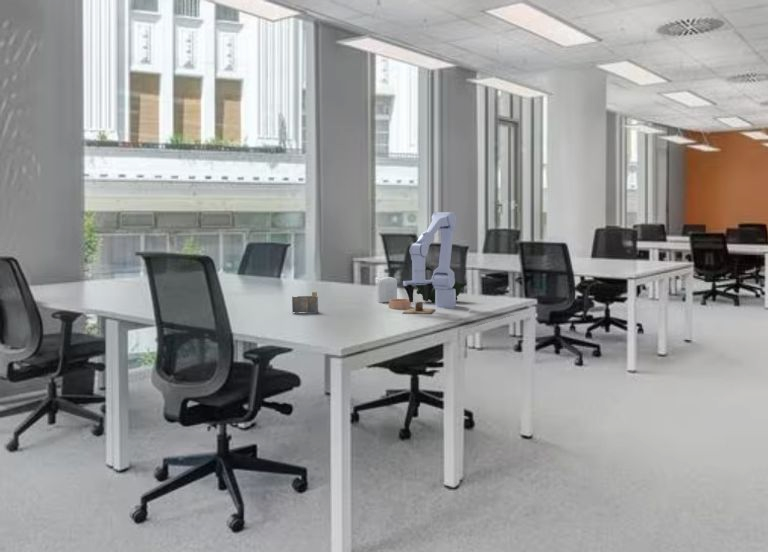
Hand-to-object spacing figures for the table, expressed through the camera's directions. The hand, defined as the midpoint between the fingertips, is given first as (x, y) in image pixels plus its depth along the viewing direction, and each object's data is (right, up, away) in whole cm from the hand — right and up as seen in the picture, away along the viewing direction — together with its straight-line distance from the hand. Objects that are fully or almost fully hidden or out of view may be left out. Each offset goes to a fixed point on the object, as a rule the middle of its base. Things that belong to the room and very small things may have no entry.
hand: (418, 301), depth 302 cm
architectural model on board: (-51, -6, +7) cm, 51 cm away
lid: (0, -5, 0) cm, 5 cm away
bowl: (-8, -4, +15) cm, 17 cm away
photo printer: (-14, -2, +39) cm, 42 cm away
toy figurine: (+13, -2, +38) cm, 40 cm away
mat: (0, -5, +1) cm, 5 cm away
